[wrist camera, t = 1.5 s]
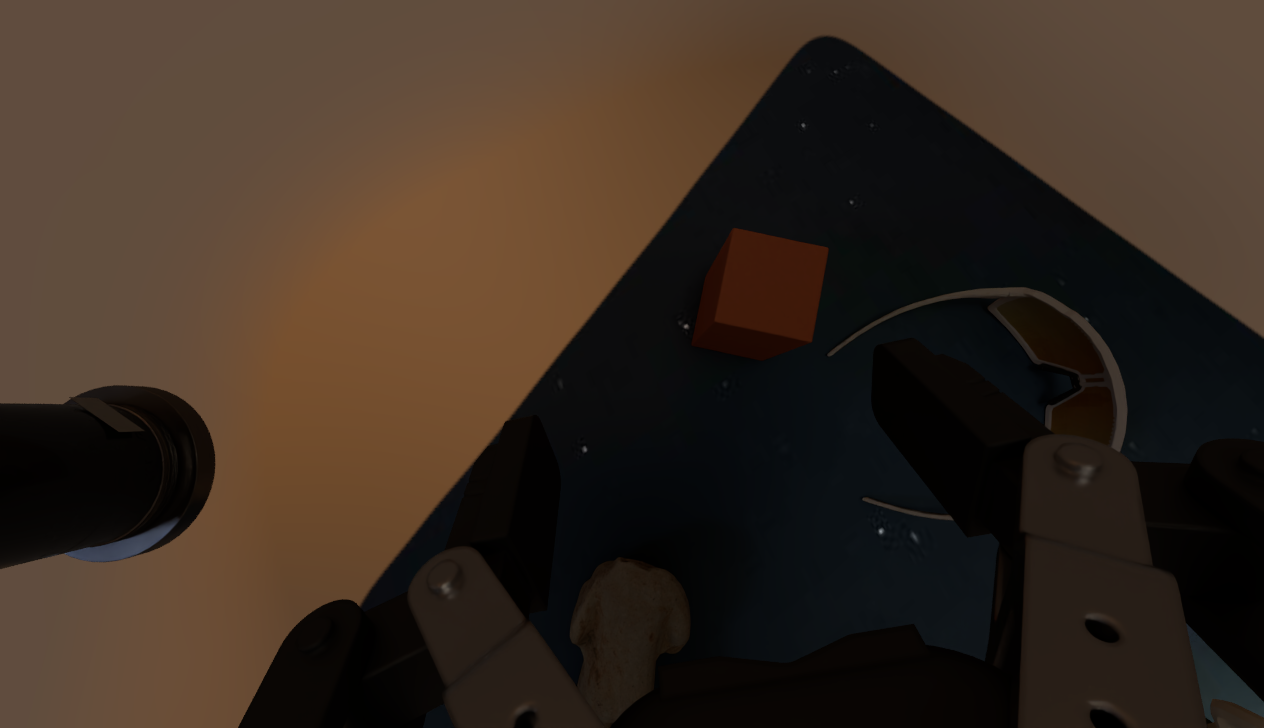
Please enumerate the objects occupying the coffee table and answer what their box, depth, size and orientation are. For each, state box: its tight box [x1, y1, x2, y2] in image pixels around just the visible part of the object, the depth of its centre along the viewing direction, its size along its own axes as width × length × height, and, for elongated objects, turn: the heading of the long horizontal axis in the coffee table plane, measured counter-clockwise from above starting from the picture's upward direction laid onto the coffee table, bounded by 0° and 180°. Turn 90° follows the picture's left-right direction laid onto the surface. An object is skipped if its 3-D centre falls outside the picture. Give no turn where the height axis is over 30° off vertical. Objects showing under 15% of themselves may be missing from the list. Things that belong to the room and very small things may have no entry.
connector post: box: [692, 228, 829, 361], centre depth 29 cm, size 5×5×9 cm
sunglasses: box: [827, 287, 1127, 520], centre depth 31 cm, size 14×15×5 cm
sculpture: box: [570, 557, 691, 728], centre depth 29 cm, size 7×5×15 cm
